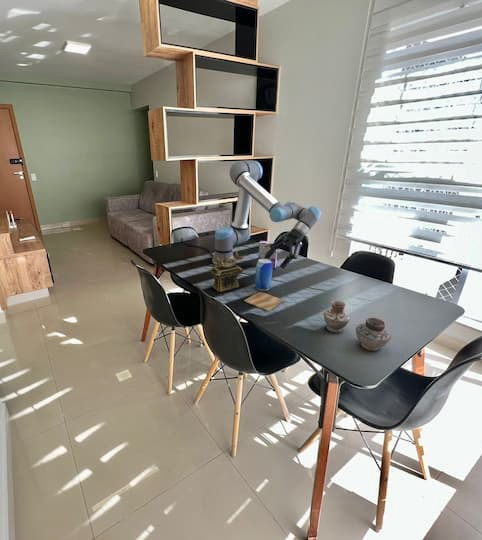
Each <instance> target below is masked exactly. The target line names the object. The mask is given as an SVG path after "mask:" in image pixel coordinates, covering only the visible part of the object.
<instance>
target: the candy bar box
mask: <svg viewBox="0 0 482 540" xmlns="http://www.w3.org/2000/svg"><path fill="white" fill-rule="evenodd" d="M274 242H275V241H269V240H260V241H259V242H258V256H257V261H258V260H259V259H265V258H264V257H265V256H266V255H267V253H268V251H269V250H270V249H271V248H270V247H269V246H270V245H271V244H273V243H274ZM277 257H278V249H277V250H275V252H274V253H273V255H272V256H271V257H270V258H269V260H271V263H272V265H273V266H272V269H276V267H277V259H278V258H277Z"/></svg>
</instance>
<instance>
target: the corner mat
mask: <svg viewBox="0 0 482 540" xmlns="http://www.w3.org/2000/svg"><path fill="white" fill-rule="evenodd" d="M284 301H285V300H284V299H282V298H279V297H277V296H273V295H272V294H268V293H265V292H264V291H259V292H257V293H255V294H252V295H251V296H250V297H248V298H246V299H243V302H244V303H246V304H248V305H251V306H254V307H256V308H258V309H261V310H263V311H266V312H269V311H271V310H272V309H274V308H276V307H278V306H279V305H280V304H282V303H283V302H284Z"/></svg>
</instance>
